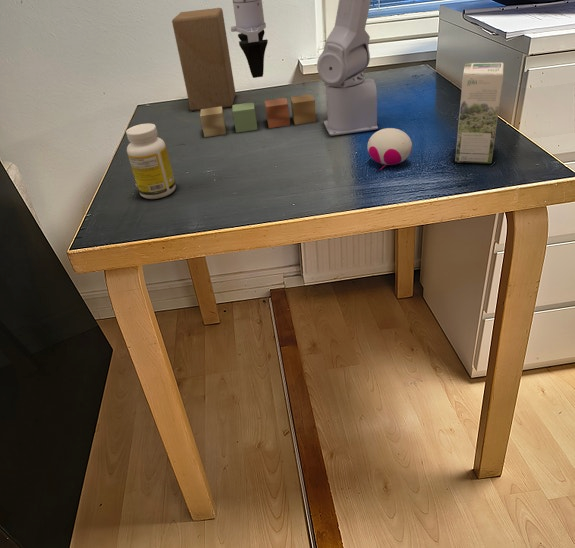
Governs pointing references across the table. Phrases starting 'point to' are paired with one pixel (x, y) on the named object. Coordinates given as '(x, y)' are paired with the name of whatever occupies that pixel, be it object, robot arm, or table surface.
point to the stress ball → (389, 146)
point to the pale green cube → (244, 117)
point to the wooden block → (205, 58)
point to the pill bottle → (150, 162)
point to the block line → (274, 111)
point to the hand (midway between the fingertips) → (256, 72)
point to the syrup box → (479, 112)
